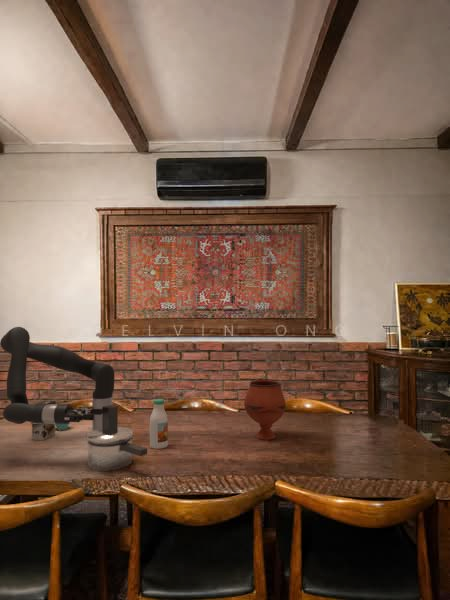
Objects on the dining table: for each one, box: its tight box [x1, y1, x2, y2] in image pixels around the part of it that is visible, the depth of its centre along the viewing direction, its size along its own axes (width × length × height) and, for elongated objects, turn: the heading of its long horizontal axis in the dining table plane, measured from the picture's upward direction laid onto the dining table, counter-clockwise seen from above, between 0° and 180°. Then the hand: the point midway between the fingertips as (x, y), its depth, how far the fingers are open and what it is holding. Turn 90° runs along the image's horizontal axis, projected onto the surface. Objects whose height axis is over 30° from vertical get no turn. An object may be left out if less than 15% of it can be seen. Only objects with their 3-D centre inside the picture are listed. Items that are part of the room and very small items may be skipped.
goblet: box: [243, 379, 286, 441], centre depth 193 cm, size 19×19×25 cm
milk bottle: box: [149, 398, 169, 450], centre depth 181 cm, size 8×8×20 cm
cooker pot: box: [87, 436, 148, 472], centre depth 157 cm, size 16×28×10 cm, turn 52°
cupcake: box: [55, 423, 70, 431], centre depth 209 cm, size 9×8×12 cm
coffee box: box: [31, 400, 56, 441], centre depth 195 cm, size 9×6×16 cm
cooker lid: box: [86, 404, 134, 444], centre depth 161 cm, size 17×17×12 cm
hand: (98, 414), depth 162 cm, fingers open, 8 cm apart
